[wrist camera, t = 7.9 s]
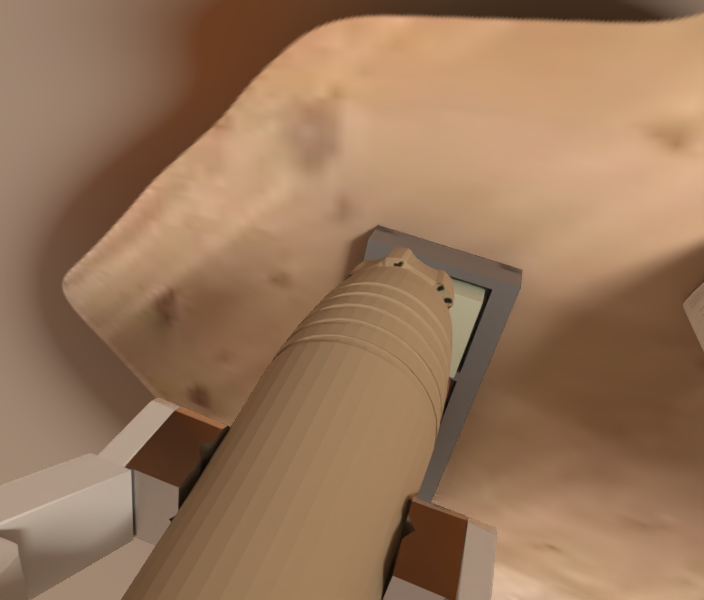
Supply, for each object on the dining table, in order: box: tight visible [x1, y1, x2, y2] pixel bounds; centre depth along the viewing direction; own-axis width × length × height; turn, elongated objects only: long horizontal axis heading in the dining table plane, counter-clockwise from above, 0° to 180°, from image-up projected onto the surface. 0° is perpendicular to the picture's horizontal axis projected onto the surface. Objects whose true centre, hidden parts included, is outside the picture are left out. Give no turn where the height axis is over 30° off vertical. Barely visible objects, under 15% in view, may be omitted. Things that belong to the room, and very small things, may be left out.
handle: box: [121, 247, 454, 600], centre depth 10 cm, size 5×6×15 cm
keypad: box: [363, 225, 522, 503], centre depth 44 cm, size 25×10×3 cm, turn 169°
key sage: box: [449, 276, 486, 378], centre depth 38 cm, size 6×6×2 cm
